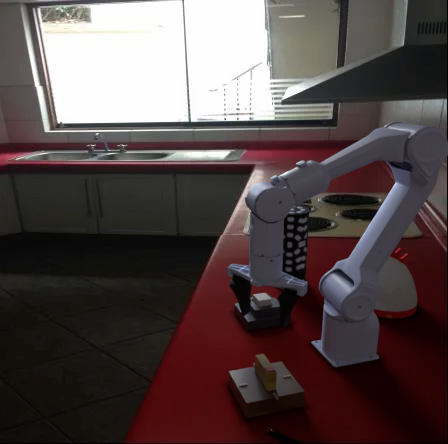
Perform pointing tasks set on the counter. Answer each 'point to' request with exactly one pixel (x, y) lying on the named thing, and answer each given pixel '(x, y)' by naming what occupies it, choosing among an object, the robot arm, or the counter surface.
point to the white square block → (261, 299)
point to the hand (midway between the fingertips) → (264, 319)
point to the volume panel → (265, 391)
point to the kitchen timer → (396, 289)
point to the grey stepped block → (260, 315)
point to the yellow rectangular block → (265, 372)
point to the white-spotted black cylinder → (296, 242)
